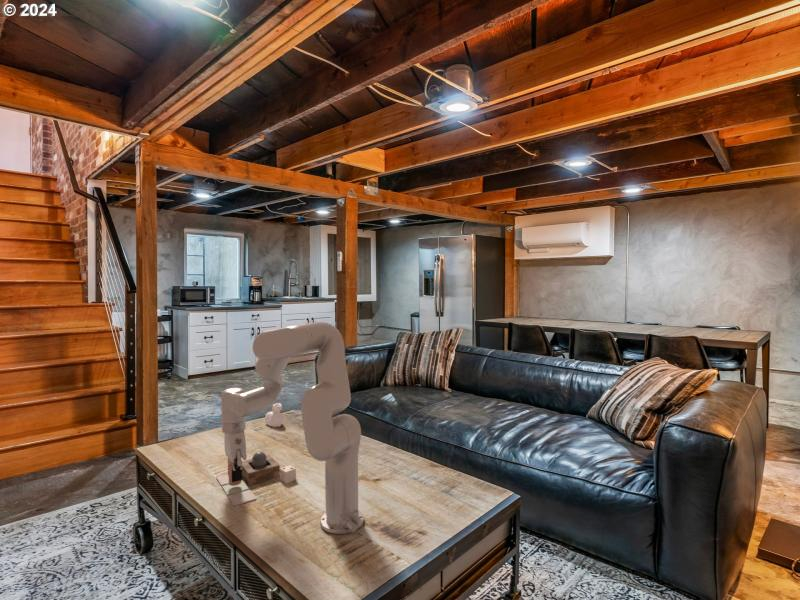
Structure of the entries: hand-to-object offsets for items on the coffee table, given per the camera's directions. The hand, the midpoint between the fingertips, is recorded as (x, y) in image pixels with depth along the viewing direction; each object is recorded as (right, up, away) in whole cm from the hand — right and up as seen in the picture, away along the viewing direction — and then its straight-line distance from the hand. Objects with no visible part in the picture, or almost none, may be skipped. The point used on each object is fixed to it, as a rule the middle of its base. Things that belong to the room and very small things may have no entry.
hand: (235, 477), depth 147 cm
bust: (-4, 0, +62) cm, 62 cm away
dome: (+5, -1, +10) cm, 11 cm away
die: (+16, -3, +7) cm, 18 cm away
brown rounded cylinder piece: (0, -2, 0) cm, 2 cm away
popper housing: (+5, -3, +10) cm, 12 cm away
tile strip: (0, -4, 0) cm, 4 cm away
